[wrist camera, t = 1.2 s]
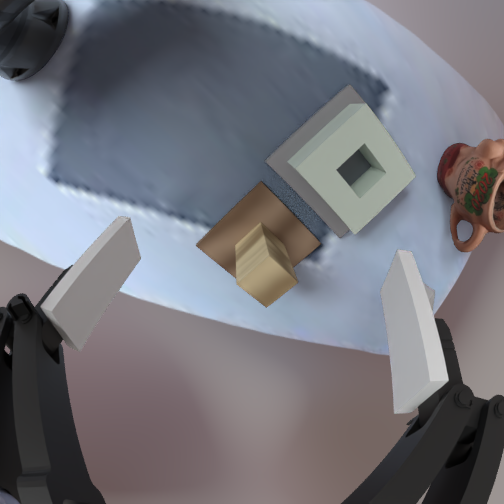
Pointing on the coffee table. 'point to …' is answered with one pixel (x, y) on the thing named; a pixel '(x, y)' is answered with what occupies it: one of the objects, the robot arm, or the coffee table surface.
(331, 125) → the square socket base
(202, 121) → the coffee table surface
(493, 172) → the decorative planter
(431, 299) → the die
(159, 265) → the coffee table surface
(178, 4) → the coffee table surface
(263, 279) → the wooden t-shaped block
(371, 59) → the coffee table surface
